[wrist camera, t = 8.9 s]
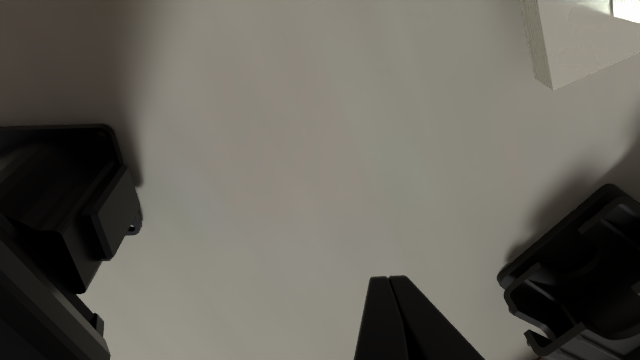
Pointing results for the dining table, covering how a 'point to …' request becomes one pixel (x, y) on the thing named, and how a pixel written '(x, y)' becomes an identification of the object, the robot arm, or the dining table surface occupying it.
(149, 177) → the dining table surface
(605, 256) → the end cap
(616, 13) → the brushed metal block
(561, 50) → the gray rectangular block
